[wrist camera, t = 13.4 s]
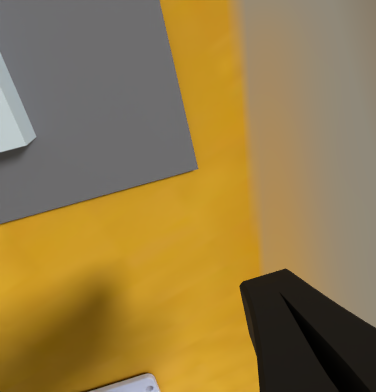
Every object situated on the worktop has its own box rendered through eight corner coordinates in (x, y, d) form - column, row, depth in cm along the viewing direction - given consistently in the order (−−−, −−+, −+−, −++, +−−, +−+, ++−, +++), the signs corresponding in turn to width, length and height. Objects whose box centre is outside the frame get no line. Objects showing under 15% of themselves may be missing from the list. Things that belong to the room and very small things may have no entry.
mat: (196, 166, 17) (198, 168, 17) (-35, 230, 16) (-38, 234, 16) (110, -206, 11) (109, -215, 11) (-250, -133, 11) (-264, -140, 10)
